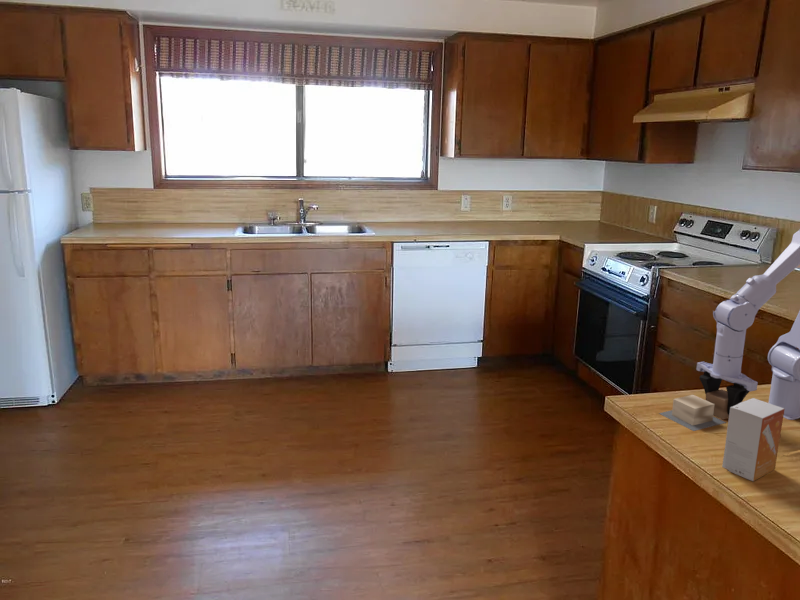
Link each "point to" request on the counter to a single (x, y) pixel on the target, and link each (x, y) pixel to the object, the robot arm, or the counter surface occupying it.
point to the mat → (689, 426)
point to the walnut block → (719, 403)
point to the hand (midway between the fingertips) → (721, 409)
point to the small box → (753, 438)
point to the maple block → (693, 409)
